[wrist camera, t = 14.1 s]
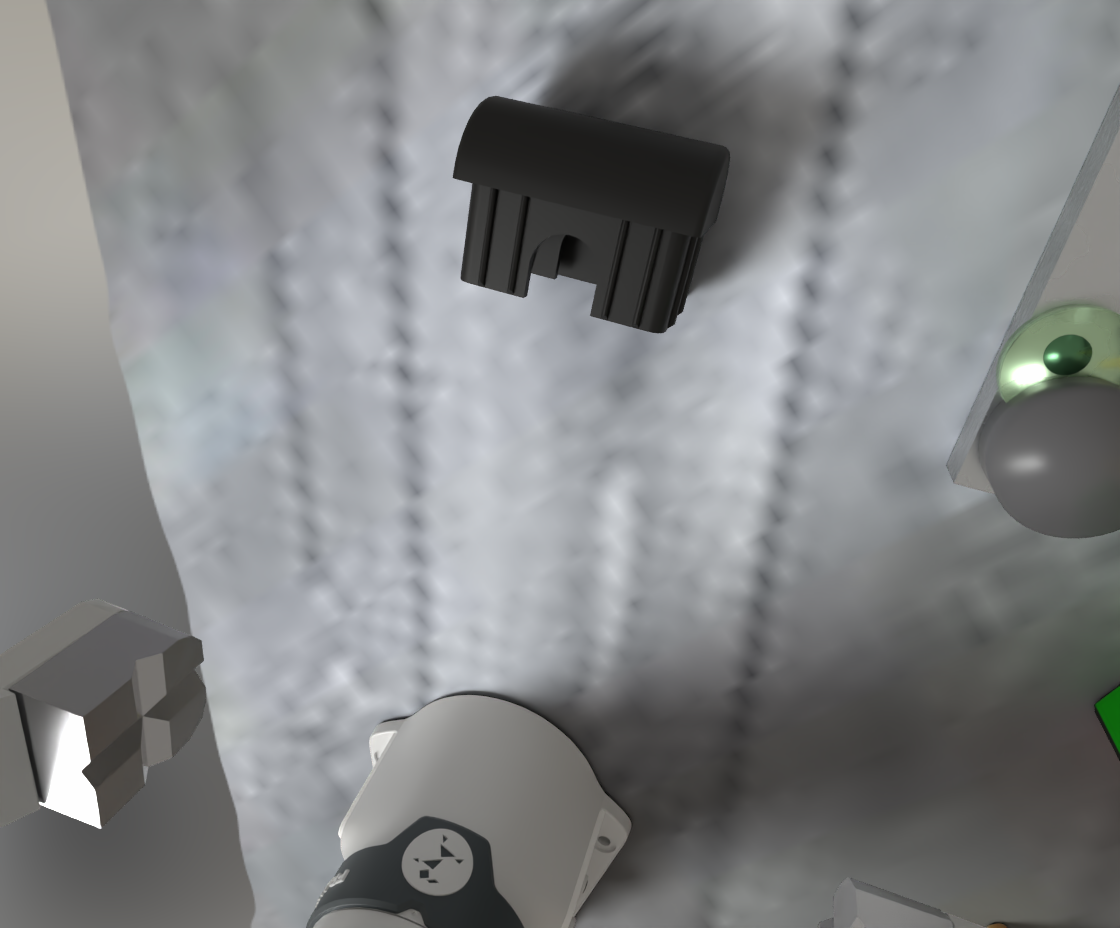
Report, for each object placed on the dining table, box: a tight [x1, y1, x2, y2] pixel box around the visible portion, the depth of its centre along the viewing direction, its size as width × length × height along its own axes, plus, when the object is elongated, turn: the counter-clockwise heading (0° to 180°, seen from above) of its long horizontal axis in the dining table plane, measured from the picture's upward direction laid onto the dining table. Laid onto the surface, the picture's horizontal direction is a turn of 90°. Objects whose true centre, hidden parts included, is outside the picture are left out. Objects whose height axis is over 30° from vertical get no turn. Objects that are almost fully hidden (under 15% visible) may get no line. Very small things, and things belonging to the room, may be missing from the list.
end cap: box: [453, 96, 730, 333], centre depth 31 cm, size 10×7×7 cm
